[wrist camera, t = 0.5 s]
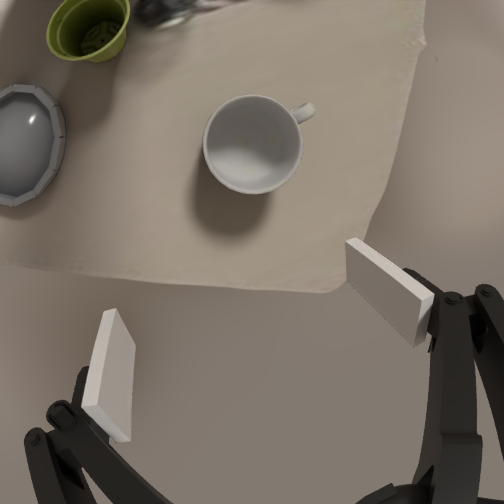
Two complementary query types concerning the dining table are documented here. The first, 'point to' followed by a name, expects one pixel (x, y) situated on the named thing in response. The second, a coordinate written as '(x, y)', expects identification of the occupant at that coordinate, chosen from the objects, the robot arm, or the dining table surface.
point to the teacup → (254, 143)
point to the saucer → (29, 142)
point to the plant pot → (88, 29)
